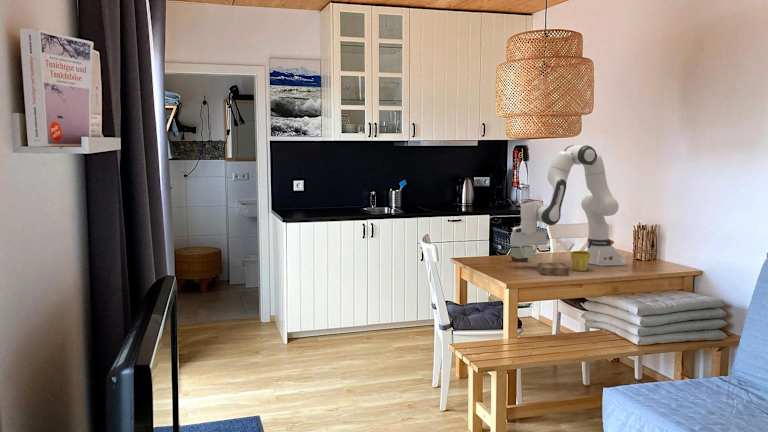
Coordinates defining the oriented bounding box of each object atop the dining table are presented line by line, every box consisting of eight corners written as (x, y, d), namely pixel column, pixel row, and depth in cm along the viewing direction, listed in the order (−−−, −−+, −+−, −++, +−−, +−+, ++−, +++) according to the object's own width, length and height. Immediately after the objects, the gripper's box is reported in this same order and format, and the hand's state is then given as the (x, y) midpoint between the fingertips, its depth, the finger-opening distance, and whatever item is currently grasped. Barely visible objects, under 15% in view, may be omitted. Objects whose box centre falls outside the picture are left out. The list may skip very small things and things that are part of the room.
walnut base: (563, 270, 356) (564, 263, 356) (568, 275, 342) (568, 268, 342) (537, 269, 358) (538, 262, 357) (541, 275, 344) (541, 267, 344)
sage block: (532, 256, 367) (532, 245, 366) (533, 257, 362) (533, 247, 361) (523, 256, 368) (523, 245, 367) (524, 257, 363) (524, 247, 362)
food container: (529, 260, 385) (529, 243, 384) (530, 262, 379) (530, 245, 378) (507, 260, 386) (508, 243, 385) (508, 262, 380) (509, 245, 379)
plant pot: (566, 269, 358) (566, 252, 357) (577, 267, 365) (578, 250, 363) (582, 272, 350) (582, 254, 349) (593, 270, 356) (594, 252, 355)
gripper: (546, 227, 365) (546, 252, 366) (509, 228, 367) (509, 252, 369) (548, 229, 358) (548, 254, 360) (510, 229, 361) (510, 254, 363)
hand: (528, 253), depth 365 cm, fingers closed on sage block, 5 cm apart
